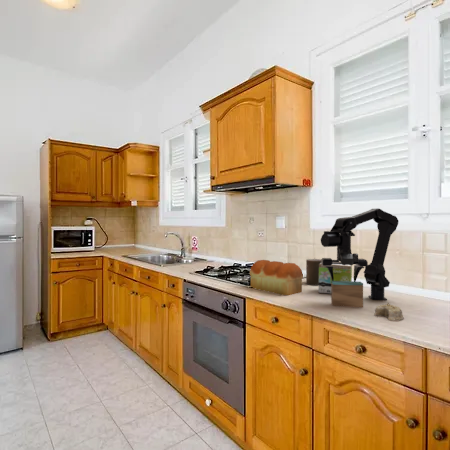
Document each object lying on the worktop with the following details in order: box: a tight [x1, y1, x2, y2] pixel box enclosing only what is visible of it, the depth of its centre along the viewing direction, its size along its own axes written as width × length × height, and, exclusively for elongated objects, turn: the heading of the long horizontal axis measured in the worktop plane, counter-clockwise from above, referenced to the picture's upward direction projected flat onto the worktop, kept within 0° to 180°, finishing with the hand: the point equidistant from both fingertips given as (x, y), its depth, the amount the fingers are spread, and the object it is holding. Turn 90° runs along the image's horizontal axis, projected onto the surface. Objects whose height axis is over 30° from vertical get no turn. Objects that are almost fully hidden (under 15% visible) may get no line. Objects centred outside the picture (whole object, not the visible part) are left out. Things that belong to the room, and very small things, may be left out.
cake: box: [373, 303, 404, 321], centre depth 120 cm, size 10×10×5 cm
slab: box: [330, 280, 364, 308], centre depth 136 cm, size 4×12×10 cm, turn 82°
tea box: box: [317, 263, 353, 294], centre depth 161 cm, size 15×10×15 cm
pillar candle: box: [305, 258, 322, 286], centre depth 183 cm, size 10×10×15 cm
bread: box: [249, 259, 304, 296], centre depth 166 cm, size 25×12×15 cm, turn 43°
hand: (343, 281), depth 142 cm, fingers open, 9 cm apart
